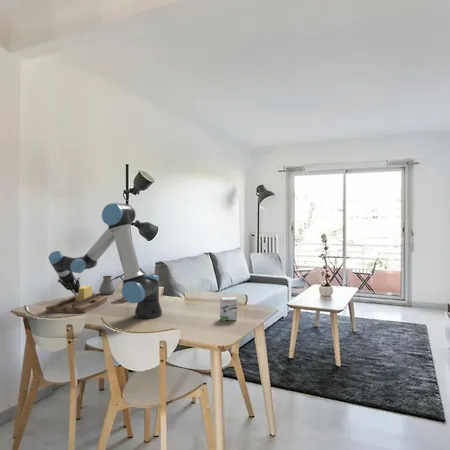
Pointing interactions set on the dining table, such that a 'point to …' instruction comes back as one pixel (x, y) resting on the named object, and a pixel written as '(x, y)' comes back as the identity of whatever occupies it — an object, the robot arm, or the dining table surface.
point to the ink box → (228, 308)
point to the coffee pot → (108, 285)
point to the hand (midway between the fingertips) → (77, 295)
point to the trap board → (77, 304)
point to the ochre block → (84, 293)
